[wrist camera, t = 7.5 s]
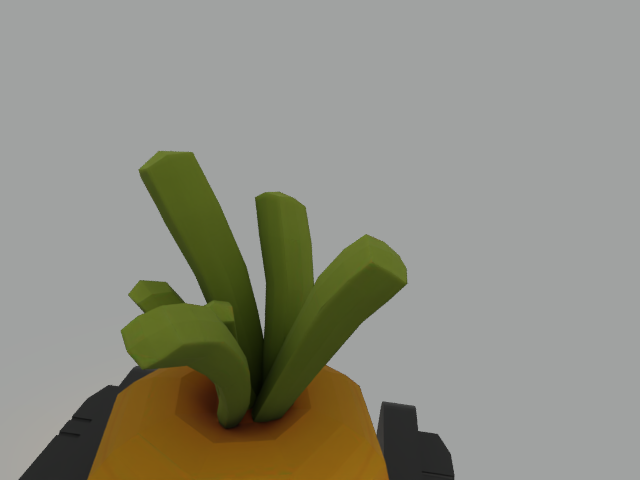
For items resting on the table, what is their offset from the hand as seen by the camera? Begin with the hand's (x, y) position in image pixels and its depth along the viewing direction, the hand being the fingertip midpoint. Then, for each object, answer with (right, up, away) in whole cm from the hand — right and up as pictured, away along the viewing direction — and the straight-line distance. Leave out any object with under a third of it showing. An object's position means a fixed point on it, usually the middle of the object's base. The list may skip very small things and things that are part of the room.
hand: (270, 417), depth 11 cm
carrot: (-1, -9, +1) cm, 9 cm away
